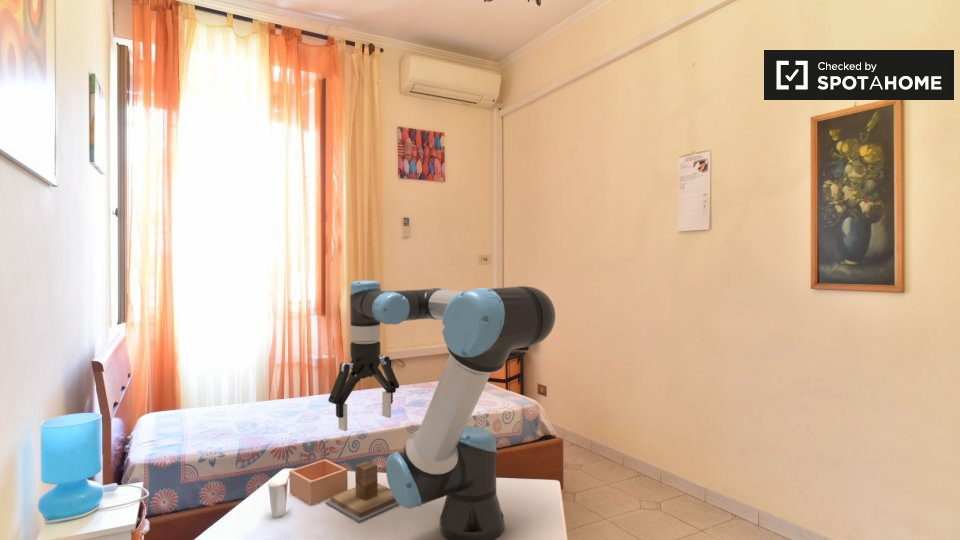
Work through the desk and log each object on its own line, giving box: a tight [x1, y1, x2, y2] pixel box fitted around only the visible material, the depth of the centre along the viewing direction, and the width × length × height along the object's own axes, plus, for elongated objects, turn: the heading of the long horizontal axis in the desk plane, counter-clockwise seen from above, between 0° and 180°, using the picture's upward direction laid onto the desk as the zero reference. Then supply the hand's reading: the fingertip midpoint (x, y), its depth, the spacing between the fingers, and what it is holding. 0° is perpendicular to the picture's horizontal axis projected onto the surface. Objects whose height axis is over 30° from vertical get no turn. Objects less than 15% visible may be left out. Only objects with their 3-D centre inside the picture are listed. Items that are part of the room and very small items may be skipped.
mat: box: [324, 499, 400, 524], centre depth 136 cm, size 15×15×1 cm
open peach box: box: [288, 458, 349, 506], centre depth 142 cm, size 11×11×6 cm
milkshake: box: [267, 474, 290, 518], centre depth 130 cm, size 4×5×10 cm
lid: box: [330, 460, 397, 518], centre depth 136 cm, size 13×13×9 cm
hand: (365, 422), depth 135 cm, fingers open, 13 cm apart
